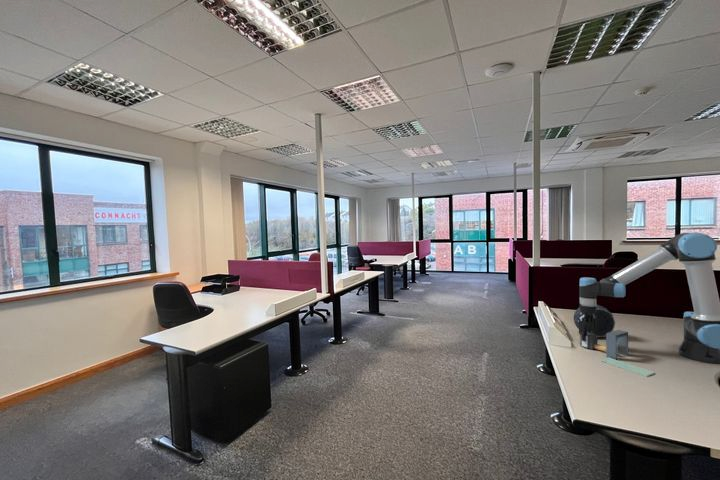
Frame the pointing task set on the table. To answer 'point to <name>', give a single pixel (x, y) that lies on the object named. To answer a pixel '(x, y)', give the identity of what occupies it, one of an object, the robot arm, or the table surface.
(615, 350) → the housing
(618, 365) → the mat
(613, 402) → the table surface
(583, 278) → the robot arm
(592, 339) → the grey hammer
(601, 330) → the dark grey short cylinder
